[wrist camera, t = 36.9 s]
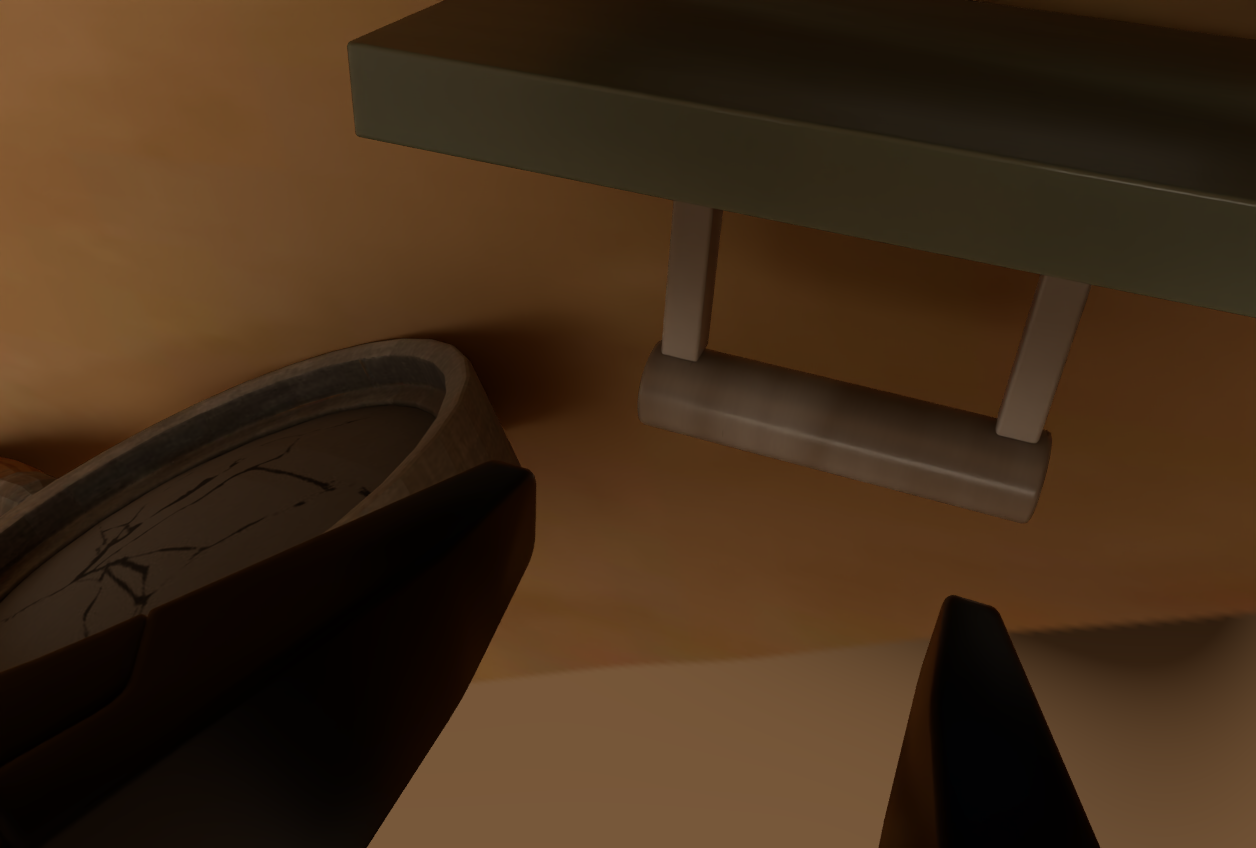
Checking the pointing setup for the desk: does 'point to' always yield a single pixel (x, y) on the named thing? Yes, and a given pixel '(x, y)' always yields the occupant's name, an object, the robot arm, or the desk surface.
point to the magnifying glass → (232, 486)
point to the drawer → (859, 180)
